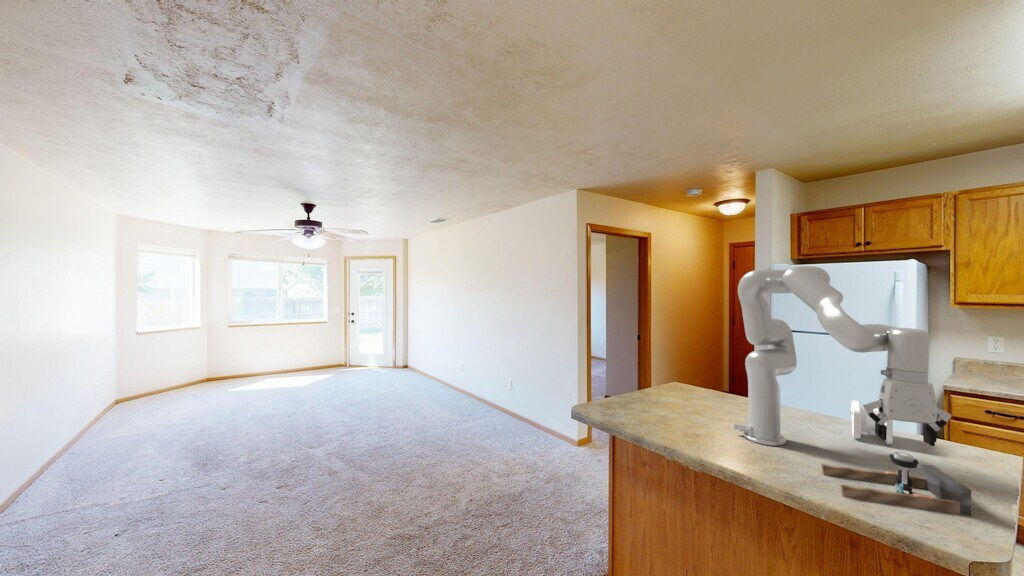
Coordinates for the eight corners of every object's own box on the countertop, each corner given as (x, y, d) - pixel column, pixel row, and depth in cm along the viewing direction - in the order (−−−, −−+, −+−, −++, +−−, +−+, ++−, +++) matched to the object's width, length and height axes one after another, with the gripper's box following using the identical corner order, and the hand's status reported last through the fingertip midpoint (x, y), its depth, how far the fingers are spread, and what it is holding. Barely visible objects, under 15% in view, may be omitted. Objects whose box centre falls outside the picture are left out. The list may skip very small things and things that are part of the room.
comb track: (843, 496, 100) (843, 473, 100) (821, 472, 112) (821, 452, 112) (971, 515, 91) (971, 490, 91) (932, 487, 104) (932, 465, 104)
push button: (921, 502, 97) (921, 463, 97) (891, 495, 100) (891, 457, 100) (916, 491, 102) (916, 453, 102) (888, 485, 105) (888, 448, 105)
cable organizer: (893, 448, 129) (893, 414, 129) (851, 440, 136) (851, 407, 136) (889, 435, 140) (889, 403, 140) (850, 428, 147) (850, 398, 147)
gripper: (872, 376, 100) (870, 441, 100) (962, 383, 94) (959, 452, 94) (858, 369, 107) (856, 431, 107) (940, 375, 101) (938, 440, 101)
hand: (904, 441), depth 101 cm, fingers open, 9 cm apart
